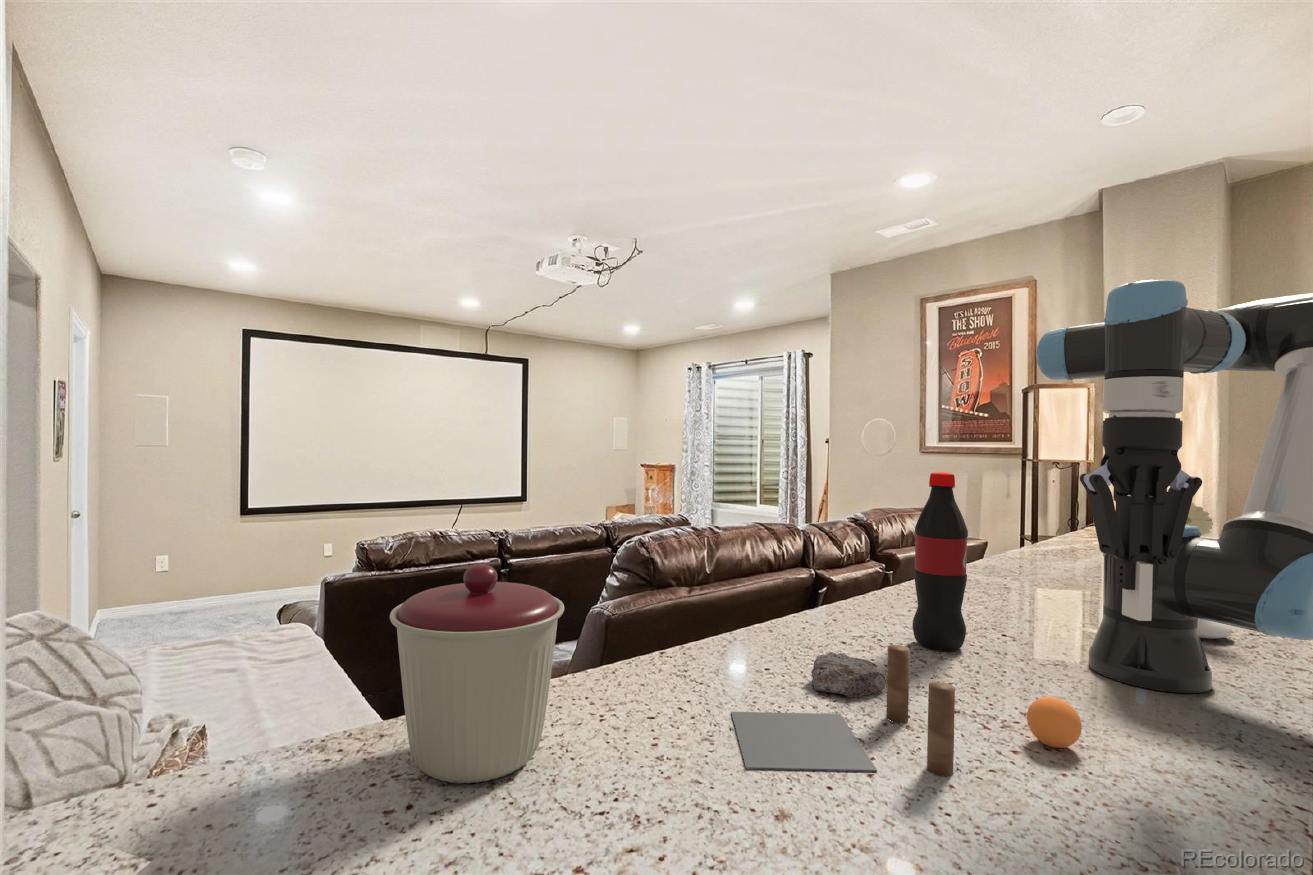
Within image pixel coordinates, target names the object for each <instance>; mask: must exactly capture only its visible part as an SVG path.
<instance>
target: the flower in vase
mask: <svg viewBox="0 0 1313 875" xmlns="http://www.w3.org/2000/svg"><path fill="white" fill-rule="evenodd" d="M1209 515H1210V513H1209V512H1208V511H1206V510H1204V508H1203V506H1202V507H1201V506H1196V504H1195V502H1193V501H1192V503H1191V507H1190V510H1189V514H1188V518H1187V521H1186V525H1188V526H1197V527H1198V528H1199V529H1200V532H1201V533H1202V534H1201V537H1202V536H1205V535H1209V534H1211V533H1212V531H1211V530H1212V529H1213V527H1212V526H1213V525H1214V522H1213V519H1212V517H1210V516H1209ZM1197 628H1198V635H1199V638H1200V639H1212V640H1213V639H1224V638H1229V637H1230V636H1231V635H1232V634H1233V633H1234V632H1233V630H1232V626H1231V625H1226V624H1222V623H1217V622H1213V621H1208V620H1204V619H1200V618H1198V626H1197Z"/></svg>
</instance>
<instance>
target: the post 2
mask: <svg viewBox="0 0 1313 875" xmlns="http://www.w3.org/2000/svg"><path fill="white" fill-rule="evenodd" d="M927 699H928V700H927V701H928V702H927V744H926V745H927V746H926V748H927V751H926V769H927V771H929V772H930V773H932V774H933V775H936V776H940V777H951V776H952V775H953V774H954V759H955V758H954V753H955V752H954V749H955V706H956V704H955V703H956V687H955V686H954V685H952V684H950V683H946V682H942V681H932V682H929V683H928V698H927Z"/></svg>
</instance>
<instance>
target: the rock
mask: <svg viewBox="0 0 1313 875" xmlns="http://www.w3.org/2000/svg"><path fill="white" fill-rule="evenodd" d="M810 673H811V677H812V683H813V688H814V690H816V691H819V692H822V693H824V692H825V693H829V694H838V695H845V697H848V698H856V697H855V696H857V697H860V696H868V695H874V693H875V694H880V693H882V692H883V691H884V689H885V688H886V686H887V678H886V676H885V675H884V673H883V671H881V669H880V668H878V665H877V664H876V663H874V662H872V661H871V660H868V659H865V658H858V657H852V656H848V655H846V654H845V653H841V652H840V653H835V652H832V651H831V652H828V653H826V654H824V653H823V654H818V655H817V656H816V657H815V660H814V661H813V666H812V669H811V672H810ZM879 692H880V693H879Z"/></svg>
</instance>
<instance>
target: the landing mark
mask: <svg viewBox="0 0 1313 875" xmlns="http://www.w3.org/2000/svg"><path fill="white" fill-rule="evenodd" d="M731 716H732V717H733V718H732V721H734V722H733V725H735V726H734V728H736V729H735V733H736V732H737V733H736V736H737V740H739V741H738V743H739V744H740V745H739V744H738V745H739V747H741V748H740V751H742V752H741V755H743V756H742V760H743V759H744V760H743V763H745V764H744V767H745V770H761V769H774V770H773V771H776V769H779V770H778V771H809V770H826V771H825V772H856V771H877V772H878V769H877V768H876V766H875V765H874V763H873V761H872V760H871V758H870V757H869V755H868V754H867V751H865V748H863V746H862V744H861V743H860V742H859V740H858V739H857V737H856V735H855V734H854V732H853V731H852V729H851V727H850V726H849V725H848V723H847V721H846V720H845V719H844V717H843V716H842V714H841V713H814V712H813V713H812V712H810V713H808V712H771V711H770V712H769V711H768V712H767V711H766V712H765V711H764V712H763V711H762V712H761V711H760V712H759V711H758V712H757V711H731ZM828 770H829V771H828ZM832 770H833V771H832ZM836 770H837V771H836ZM840 770H842V771H840ZM844 770H846V771H844Z"/></svg>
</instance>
